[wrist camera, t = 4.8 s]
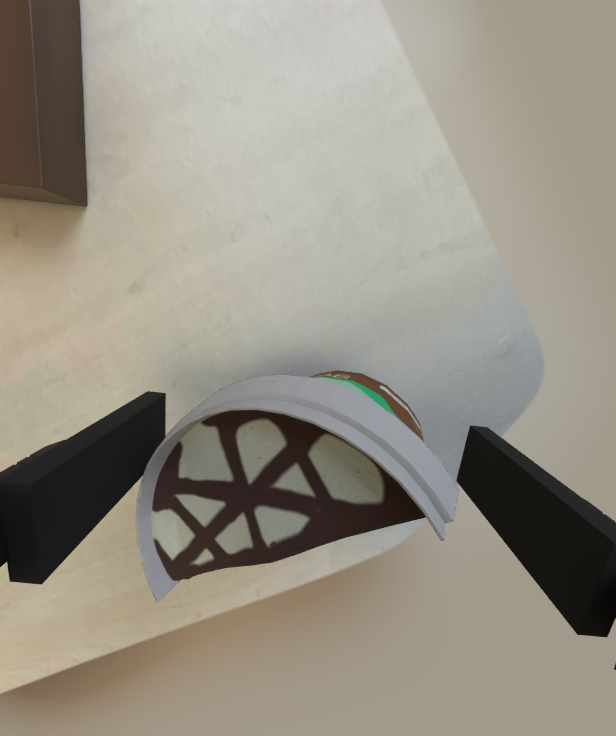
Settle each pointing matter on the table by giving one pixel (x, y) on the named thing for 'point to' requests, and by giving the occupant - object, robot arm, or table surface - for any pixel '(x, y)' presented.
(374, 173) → the table surface
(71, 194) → the board
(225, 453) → the food container
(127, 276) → the table surface
